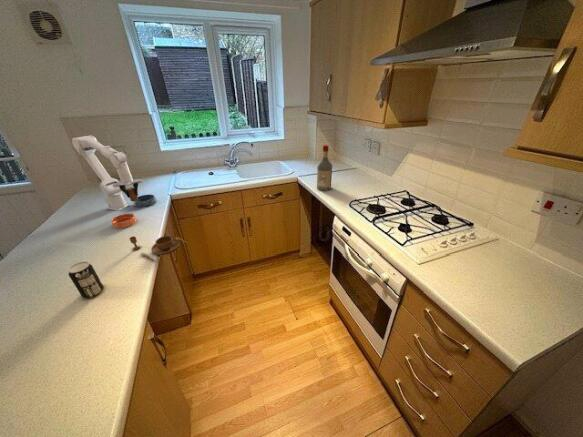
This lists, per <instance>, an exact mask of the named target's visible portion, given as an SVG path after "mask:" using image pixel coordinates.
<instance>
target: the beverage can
mask: <svg viewBox="0 0 583 437" xmlns="http://www.w3.org/2000/svg"><path fill="white" fill-rule="evenodd" d="M67 272H68V277H69V278H70V279H71V281H72V283H73V285H74V286H75V288H76V290H77V291H78V293H79V294H80V296H81V298H84V299H85V298H86V299H90V298H94V297H96V296H97V295H100V293H101V292H102V291H103V289H104V284H103V282H102V281H101V279H100V278H99V276H98V274H97V271H96V270H95V268H94V267H93V265H92V264H91V263H90V262H89V261H80V262H77V263H74V264H73V265H71V266H70V267H69V268H67Z"/></svg>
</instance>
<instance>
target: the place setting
mask: <svg viewBox="0 0 583 437" xmlns="http://www.w3.org/2000/svg"><path fill="white" fill-rule="evenodd" d="M137 240H138V239H137V237H136V236H134V235H133V236H130V237H129V241H130V243H131V244H132V245H133V246H134V247H133V249H132V250H133V251H138V250H140V249H141V246H139V245H138V244H137V242H138V241H137ZM181 241H182V242H183V243H185V244H188V242H187V241H185V240H184V239H182V238H181V237H180V236H175V238H173V237H172V236H171V235H164V236H161V237H158V238H157V239H156V240H155V243H154V244H153V245H152V246H151V248H150V251H151V252H152V254H154V255H155V256H165V255H166V256H167V255H169V254H172V253H174V252H175V251H177V250H178V249H179V247H180V245H181V243H180V242H181ZM140 256H142V257H144V258H145V257H146V258H147V259H149V260H150V261H152V262H155V259H153V258H151V257H150V256H148V255H147V254H146V253H144V252H141V253H140Z"/></svg>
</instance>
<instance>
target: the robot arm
mask: <svg viewBox="0 0 583 437" xmlns="http://www.w3.org/2000/svg"><path fill="white" fill-rule="evenodd" d="M71 143H72V146H73V147H74V149H75V150H76V151H77V153H78V154H79V155H82V157H83V158H84V159H85V161H86V162H87V163H88V164H89V166H90V167H91V168H92V170H93V172H94V173H95V174H96V176H97V177H98V178H99V179H100V181H101V182H100V184H99V189H100V190H101V192H102V194H103V195H104V200H105V202H106V205H107V210H114V211H117V210H119V211H121V210H123V209H125V208H126V207H129V206H131V204H130V203H127V202H126V200H125V197H124V195H123V193H124V194H125V196H126V197H127V199H128V198H129V195H128V193H127V186H131V185H132V187H133V188H134V189H135V192H136V195H137V197H139V193H138V192H139V190H138V188H139V184H143V183H144V181H143V178H137V179H134V178H133V175H132V173H131V171H130V168H129V165H128V162H129V158H128V156H127V154H126V153H125V152H124V151H117V150H116V149H114V148H113V147H111V146H109V145H103V144H102V143H101V142H99V141H98V139H97V138H96V136H93V134H89V135H84V136H78V137H72V139H71ZM96 151H98V152H100V154H101V156H104V157H106V158H107V159H108V160H109V161H110V162H111V164H112V166H113V167H114V168H115V169H116V171H117V174H118V177H119V180H120V181H119V180H118V179H117V178H113V177H111V175H110V174H109V173H108V171H107V170H106V168H105V167H104V166H103V164H102V163H101V161H99V159H98V157H97V155H96V154H95V152H96ZM129 199H130V198H129Z"/></svg>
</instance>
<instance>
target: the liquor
mask: <svg viewBox="0 0 583 437" xmlns="http://www.w3.org/2000/svg"><path fill="white" fill-rule="evenodd" d="M316 170H317V172H316V175H317V176H316V177H317V178H316V189H317V190H318V191H323V192H328V191H330V190H331V187H332V177H333V164H332V163H331V161H329V145H328V144H323V145H322V159H321V161H320V162H319V164H318V165H317V169H316Z"/></svg>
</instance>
